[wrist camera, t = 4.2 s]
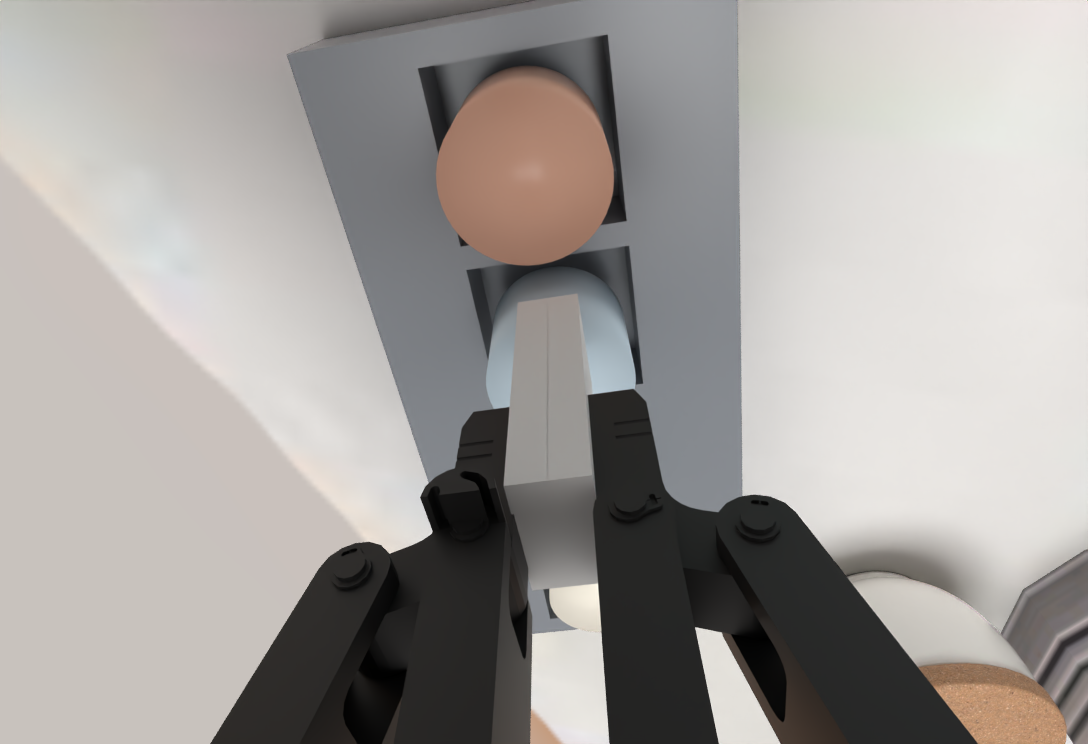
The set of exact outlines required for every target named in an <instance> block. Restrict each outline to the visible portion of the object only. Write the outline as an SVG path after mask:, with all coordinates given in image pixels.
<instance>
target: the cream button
mask: <svg viewBox="0 0 1088 744" xmlns="http://www.w3.org/2000/svg"><path fill="white" fill-rule="evenodd" d="M549 599H550V605H551V608H552V610H553V611H554V613H555V614H556V615H557V617H558V618H560V619H561V620H562V621H563V622H565V623H566V624H568V625H570V626H572V627H574V628H577V629H580V630H584V631H589V632H601V618H600V605H599V591H598V584H589V585H580V586H570V587H561V588H552V589H549Z"/></svg>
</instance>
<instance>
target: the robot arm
mask: <svg viewBox="0 0 1088 744" xmlns="http://www.w3.org/2000/svg"><path fill="white" fill-rule="evenodd" d="M420 498H421V501H422V503H423V506H424V509H425V511H426V514H427V517H428V520H429V522H430V525H431V528H432V530H433V532H432V534H431V535H430V536H428V537H427V538H425V539H424V540H422V541H420V542H418V543H416V544H414V545H412V546H409V547H406V548H404V549H401V550H399V551H396V552H393V553H391V554H389V553H388V552H387V551H386V550H385V549H384V548H383V547H382V546H381V545H378V544H375V543H371V542H363V543H355V544H352V545H350V546H347V547H344V548H342V549H340V550H339V551H337V552H336V553H334V554H333V555H331V556H330V557H329V558H328V559H327V560H326V561H325V562H324V564H323V565H322V566H321V567H320V568H319V570H318V571H317V573H316V574H315V576H314V578H313V579H312V581H311V582H310V584H309V586H308V587H307V589H306V590H305V592H304V594H303V595H302V597H301V599H300V600H299V602H298V604H297V605H296V607H295V608H294V610H293V611H292V613H291V615H290V616H289V618H288V619H287V621H286V623H285V624H284V626H283V628H282V629H281V631H280V632H279V634H278V636H277V637H276V639H275V640H274V642H273V644H272V645H271V647H270V649H269V650H268V652H267V653H266V655H265V657H264V658H263V660H262V662H261V663H260V665H259V666H258V668H257V670H256V671H255V673H254V674H253V676H252V678H251V679H250V681H249V682H248V684H247V686H246V687H245V689H244V691H243V692H242V694H241V695H240V697H239V699H238V700H237V702H236V703H235V705H234V707H233V708H232V710H231V712H230V713H229V715H228V716H227V718H226V720H225V721H224V723H223V724H222V726H221V727H220V729H219V731H218V732H217V734H216V736H215V737H214V739H213V740H212V742H211V744H530V718H531V717H530V716H531V664H532V612H531V607H530V603H529V600H528V577H529V581H530V585H531V588H532V591H533V590H542V589H552V588H561V587H570V586H580V585H589V584H598V591H599V605H600V618H601V632H602V646H603V660H604V674H605V687H606V701H607V715H608V729H609V743H610V744H719V743H718V738H717V733H716V728H715V723H714V718H713V713H712V708H711V703H710V699H709V694H708V689H707V684H706V679H705V674H704V669H703V664H702V660H701V655H700V650H699V645H698V640H697V635H696V630H695V627H698V628H703V629H708V630H713V631H718V632H722V634H723V637H724V639H725V641H726V643H727V644H728V646H729V648H730V650H731V652H732V654H733V656H734V657H735V659H736V661H737V663H738V665H739V667H740V669H741V670H742V672H743V674H744V676H745V678H746V680H747V682H748V684H749V685H750V687H751V689H752V691H753V693H754V695H755V697H756V698H757V700H758V702H759V704H760V706H761V708H762V710H763V711H764V713H765V715H766V717H767V719H768V721H769V723H770V724H771V726H772V728H773V730H774V732H775V734H776V736H777V737H778V739H779V741H780V743H781V744H978V743H977V741H976V740H975V739H974V738H973V736H972V735H971V734H970V733H969V731H968V730H967V729H966V728H965V726H964V725H963V724H962V722H961V721H960V720H959V719H958V717H957V716H956V715H955V714H954V712H953V711H952V710H951V709H950V707H949V706H948V705H947V703H946V702H945V701H944V700H943V698H942V697H941V696H940V695H939V693H938V692H937V691H936V689H935V688H934V687H933V686H932V684H931V683H930V682H929V681H928V679H927V678H926V677H925V676H924V674H923V673H922V672H921V670H920V669H919V668H918V667H917V665H916V664H915V663H914V662H913V660H912V659H911V658H910V657H909V655H908V654H907V653H906V651H905V650H904V649H903V648H902V646H901V645H900V644H899V643H898V641H897V640H896V639H895V637H894V636H893V635H892V634H891V632H890V631H889V630H888V629H887V627H886V626H885V625H884V624H883V622H882V621H881V620H880V618H879V617H878V616H877V615H876V613H875V612H874V611H873V610H872V608H871V607H870V606H869V605H868V603H867V602H866V601H865V599H864V598H863V597H862V596H861V594H860V593H859V592H858V591H857V589H856V588H855V587H854V585H853V584H852V583H851V582H850V580H849V579H848V578H847V577H846V575H845V574H844V573H843V572H842V570H841V569H840V568H839V566H838V565H837V564H836V563H835V561H834V560H833V559H832V558H831V556H830V555H829V554H828V552H827V551H826V550H825V549H824V547H823V546H822V545H821V544H820V542H819V541H818V540H817V539H816V537H815V536H814V535H813V533H812V532H811V531H810V530H809V528H808V527H807V526H806V525H805V523H804V522H803V521H802V520H801V518H800V517H799V516H798V514H797V513H796V512H795V511H794V510H793V509H791V508H790V507H789V506H788V505H787V504H786V503H784V502H782V501H779V500H777V499H775V498H772V497H769V496H761V495H748V496H742V497H738V498H736V499H734V500H731V501H729V502H727V503H726V504H725V505H724V506H723V507H722V508H721V510H720V511H719V512H713V511H706V510H700V509H695V508H691V507H688V506H686V505H684V504H681V503H679V502H678V501H677V500H675V499H674V498H673V497H671V495H670V494H669V493H668V492H667V491H666V489H665V486H664V484H663V481H662V476H661V471H660V466H659V461H658V456H657V451H656V447H655V442H654V437H653V432H652V427H651V422H650V417H649V412H648V407H647V403H646V401H645V400H644V399H643V398H642V397H641V396H640V395H639V394H638V393H637V392H636V391H635V390H634V389H628V390H620V391H613V392H605V393H598V394H593V392H592V382H591V376H590V369H589V363H588V357H587V350H586V344H585V338H584V332H583V325H582V319H581V313H580V306H579V300H578V294H571V295H564V296H557V297H550V298H544V299H537V300H530V301H524V302H518V306H517V319H516V331H515V344H514V357H513V370H512V383H511V396H510V407H505V408H498V409H491V410H483V411H476V412H473V413H472V414H471V416H470V417H469V419H468V420H467V421H466V423H465V424H464V425H463V427H462V429H461V435H460V441H459V448H458V453H457V461H456V465H455V468H454V469H451V470H447V471H445V472H444V473H442V474H440V475H438V476H436V477H435V478H434V479H433V480H432V481H431V482H430V483H429V484H428V485H427V486H425V488H424V491H423V493H422V495H421V497H420Z"/></svg>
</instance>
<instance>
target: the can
mask: <svg viewBox="0 0 1088 744" xmlns="http://www.w3.org/2000/svg"><path fill="white" fill-rule="evenodd" d="M1001 634H1002V636H1003V637H1004V638H1005V639H1006V640H1007V641H1008V643H1009V644H1010V645H1011V646H1012V647H1013V648H1014V650H1015V651H1016V653H1017V654H1018V655H1019V657H1020V658H1021V659H1022V661H1023V662H1024V664H1025V665H1026V666H1027V668H1028V669H1029V671H1030V672H1031V674H1032V675H1033V677H1034V678H1035V680H1036V681H1037V683H1038V684H1039V685H1041V686H1042V687H1043V688H1044V689H1045V690H1046V691H1047V692H1048V694H1049V695H1050V697H1051V698H1052V699H1053V701H1054V702H1055V704H1056V705H1057V707H1058V708H1059V710H1060V711H1061V713H1062V714H1063V716H1064V719H1065V722H1066V726H1067V735H1068V736H1069V738H1070V739H1071V741H1072V742H1073V744H1088V550H1085V551H1083V552H1081V553H1080V554H1078V555H1077V556H1075V557H1074V558H1072V559H1070V560H1069V561H1067V562H1066V563H1064V564H1063V565H1061V566H1059V567H1058V568H1056V569H1055V570H1053V571H1052V572H1050V573H1049V574H1047V575H1045V576H1044V577H1042V578H1041V579H1039V580H1038V581H1036V582H1034V583H1033V584H1031V585H1030V586H1028V587H1027V588H1025V589H1023V591H1022V593H1021V595H1020V597H1019V599H1018V601H1017V603H1016V605H1015V607H1014V609H1013V611H1012V613H1011V615H1010V616H1009V618H1008V620H1007V622H1006V624H1005V626H1004V628H1003V630H1002V632H1001Z"/></svg>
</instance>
